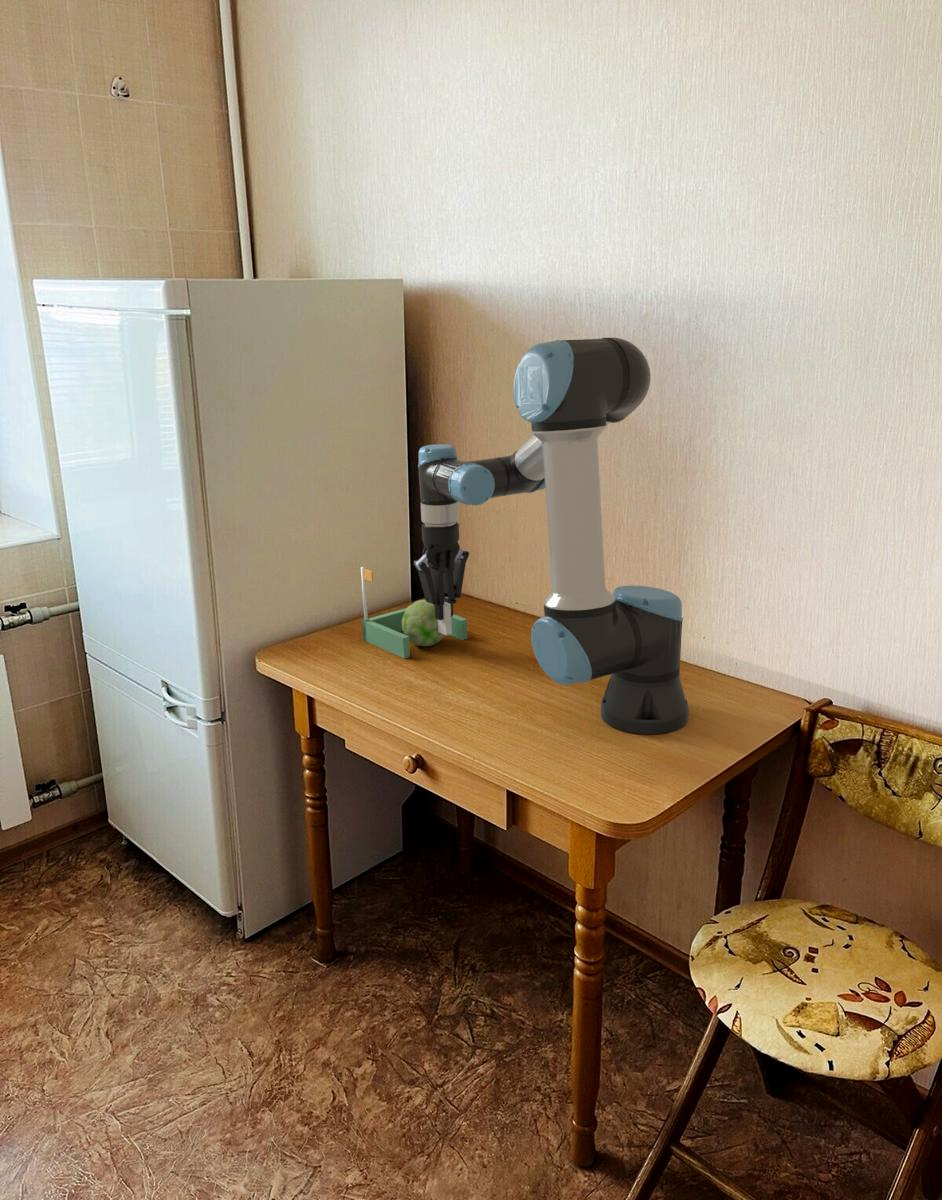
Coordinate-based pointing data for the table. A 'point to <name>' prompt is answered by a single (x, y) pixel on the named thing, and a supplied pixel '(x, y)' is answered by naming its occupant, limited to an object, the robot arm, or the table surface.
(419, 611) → the decorative ball
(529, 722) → the table surface
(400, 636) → the cup
